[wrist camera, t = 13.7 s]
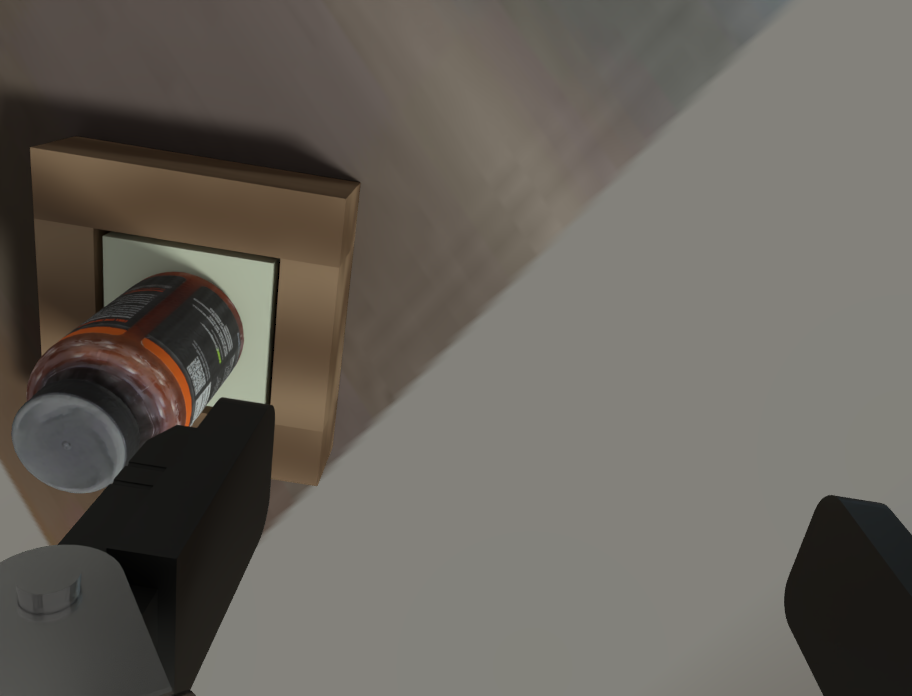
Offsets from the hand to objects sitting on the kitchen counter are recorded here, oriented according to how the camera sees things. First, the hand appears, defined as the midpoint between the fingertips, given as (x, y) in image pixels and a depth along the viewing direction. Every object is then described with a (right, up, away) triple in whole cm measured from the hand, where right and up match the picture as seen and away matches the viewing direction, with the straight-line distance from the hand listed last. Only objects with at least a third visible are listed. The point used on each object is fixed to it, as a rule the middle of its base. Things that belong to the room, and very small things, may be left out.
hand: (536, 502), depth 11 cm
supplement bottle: (-14, +3, +26) cm, 30 cm away
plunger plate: (-14, +4, +27) cm, 30 cm away
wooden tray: (-14, +5, +29) cm, 33 cm away
